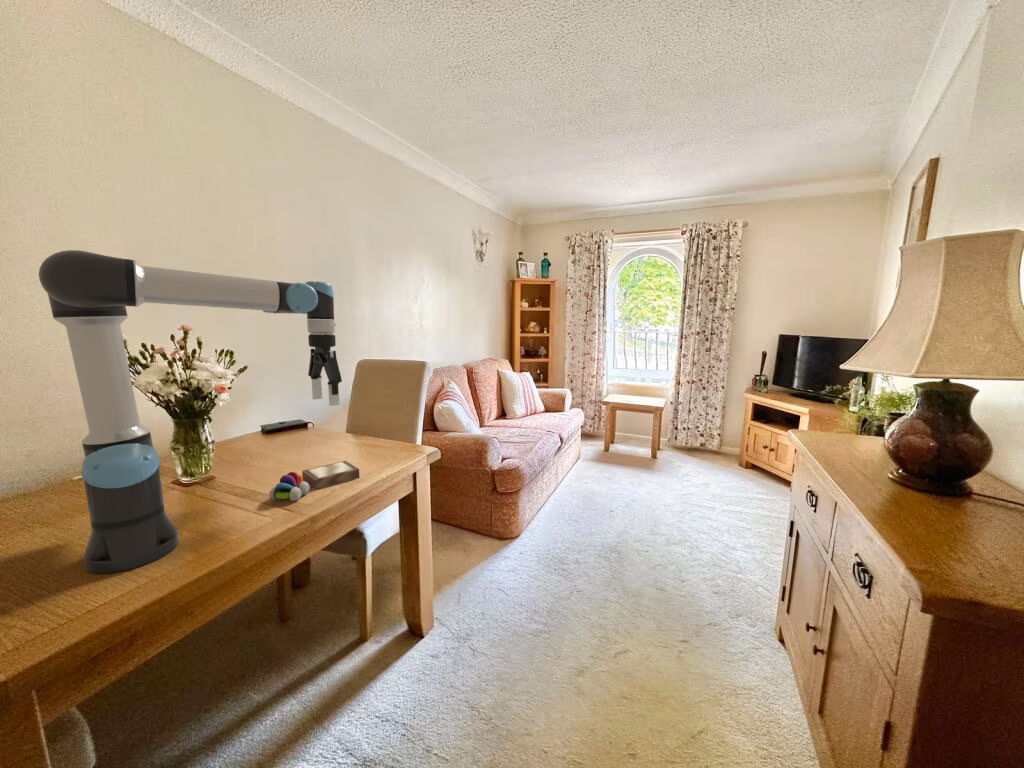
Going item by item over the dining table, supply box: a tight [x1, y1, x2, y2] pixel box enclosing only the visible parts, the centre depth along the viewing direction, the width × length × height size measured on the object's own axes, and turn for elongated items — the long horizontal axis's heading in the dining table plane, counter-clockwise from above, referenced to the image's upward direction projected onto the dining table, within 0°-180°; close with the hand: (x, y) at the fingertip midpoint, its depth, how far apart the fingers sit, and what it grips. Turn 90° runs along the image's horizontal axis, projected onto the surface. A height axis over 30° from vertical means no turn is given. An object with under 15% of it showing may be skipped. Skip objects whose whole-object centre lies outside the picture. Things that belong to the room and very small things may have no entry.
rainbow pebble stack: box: [269, 471, 311, 502], centre depth 118 cm, size 8×10×7 cm
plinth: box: [301, 460, 360, 490], centre depth 133 cm, size 14×11×3 cm
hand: (325, 402), depth 127 cm, fingers open, 13 cm apart
